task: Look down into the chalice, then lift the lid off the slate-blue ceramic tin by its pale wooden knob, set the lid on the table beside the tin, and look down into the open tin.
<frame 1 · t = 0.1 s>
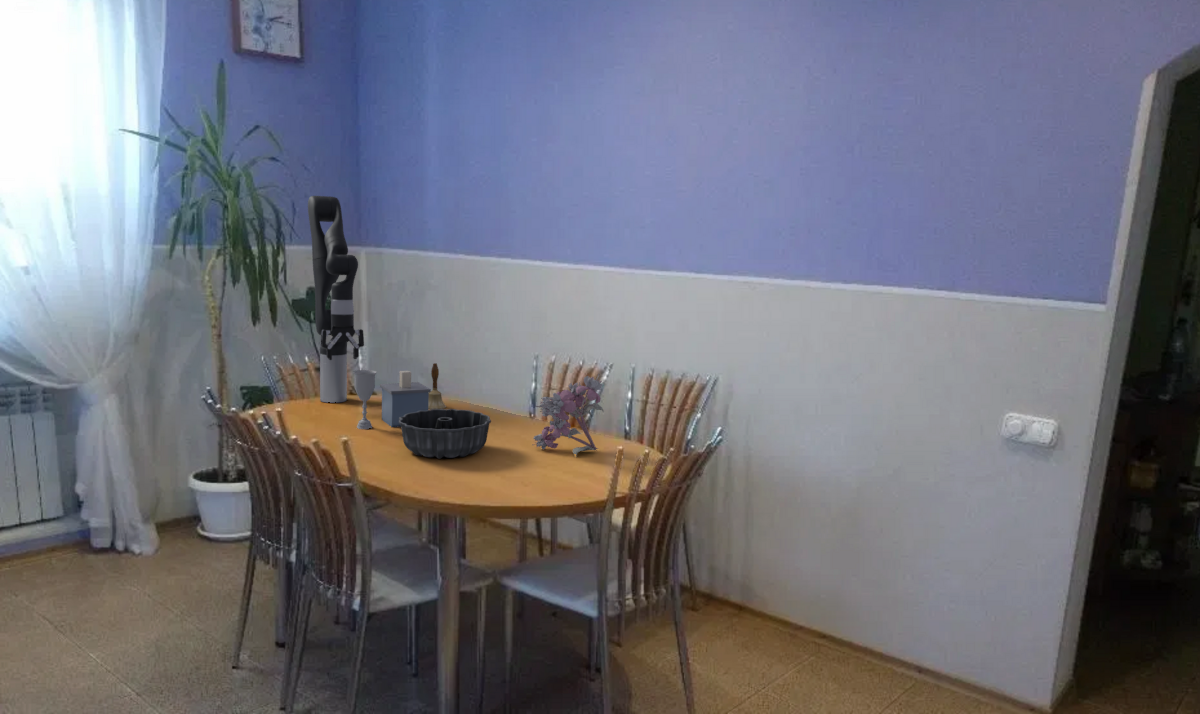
hand: (342, 359, 297), 17 cm above the table, tool pointing down, fingers open, 8 cm apart
lid: (405, 389, 281), point 11 cm above the table, touching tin
chalice: (364, 428, 273), on the table
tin: (404, 422, 283), on the table, touching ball, lid
hand bell: (434, 407, 308), on the table
flower: (560, 452, 255), on the table
bundt pan: (444, 452, 249), on the table
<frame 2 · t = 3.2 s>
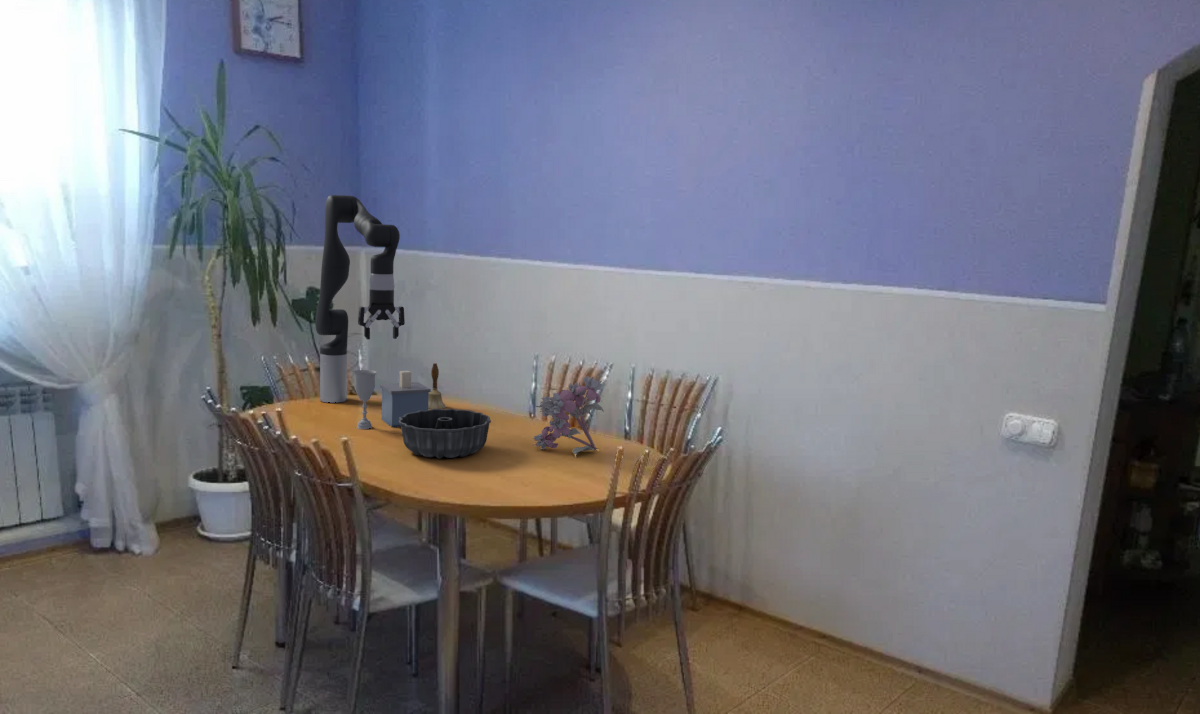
hand: (381, 338, 273), 28 cm above the table, tool pointing down, fingers open, 8 cm apart
nothing on the table moved.
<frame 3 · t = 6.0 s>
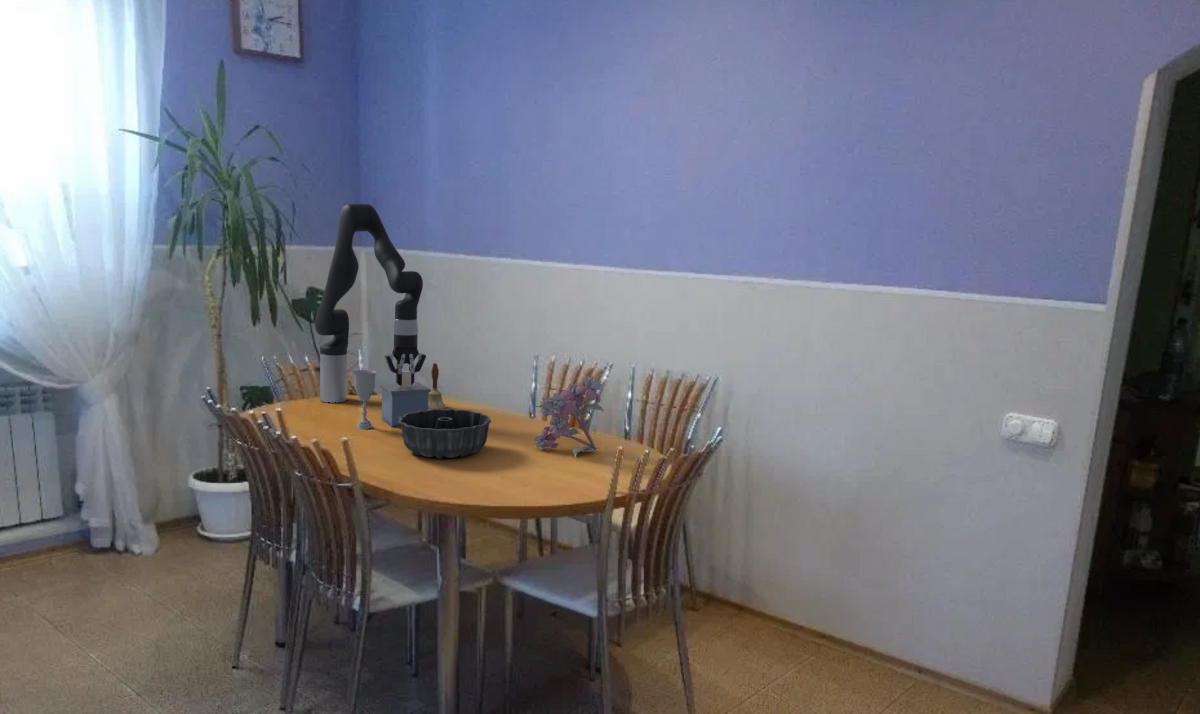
hand: (405, 384, 281), 13 cm above the table, tool pointing down, fingers closed on lid, 3 cm apart
lid: (405, 389, 281), point 11 cm above the table, touching gripper, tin
everything else where it was.
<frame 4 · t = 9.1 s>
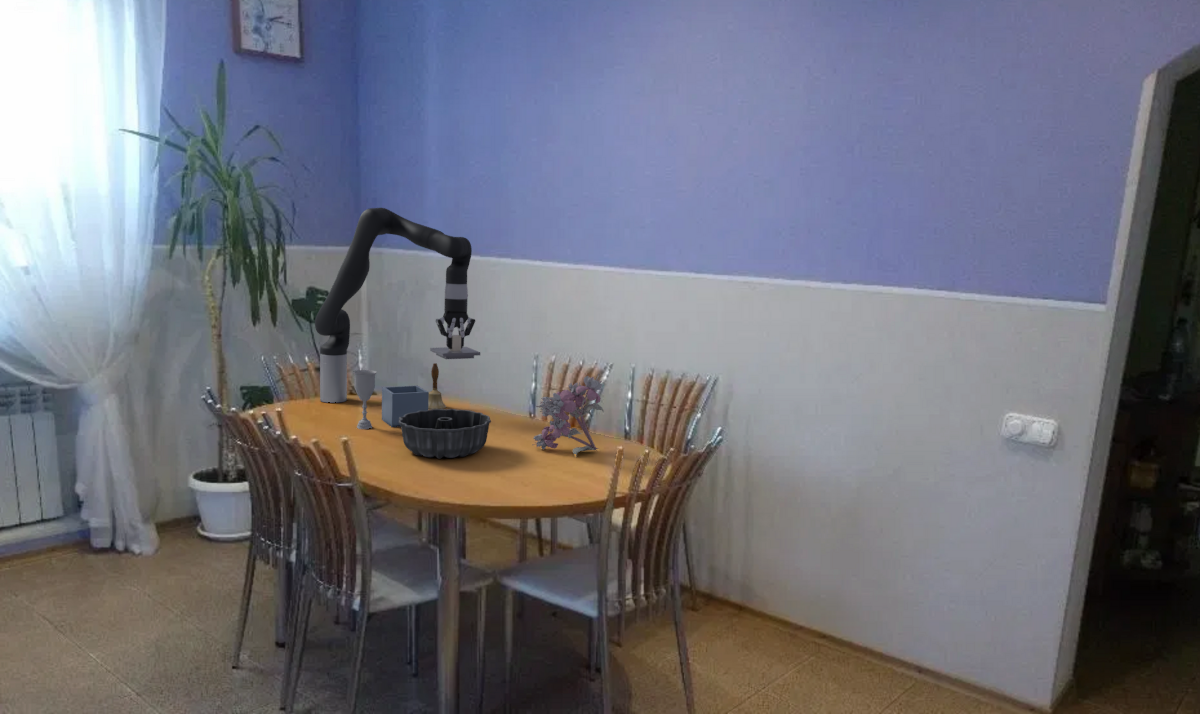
hand: (455, 348, 288), 24 cm above the table, tool pointing down, fingers closed on lid, 3 cm apart
lid: (455, 353, 288), point 23 cm above the table, touching gripper
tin: (404, 422, 283), on the table, touching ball
everything else where it was.
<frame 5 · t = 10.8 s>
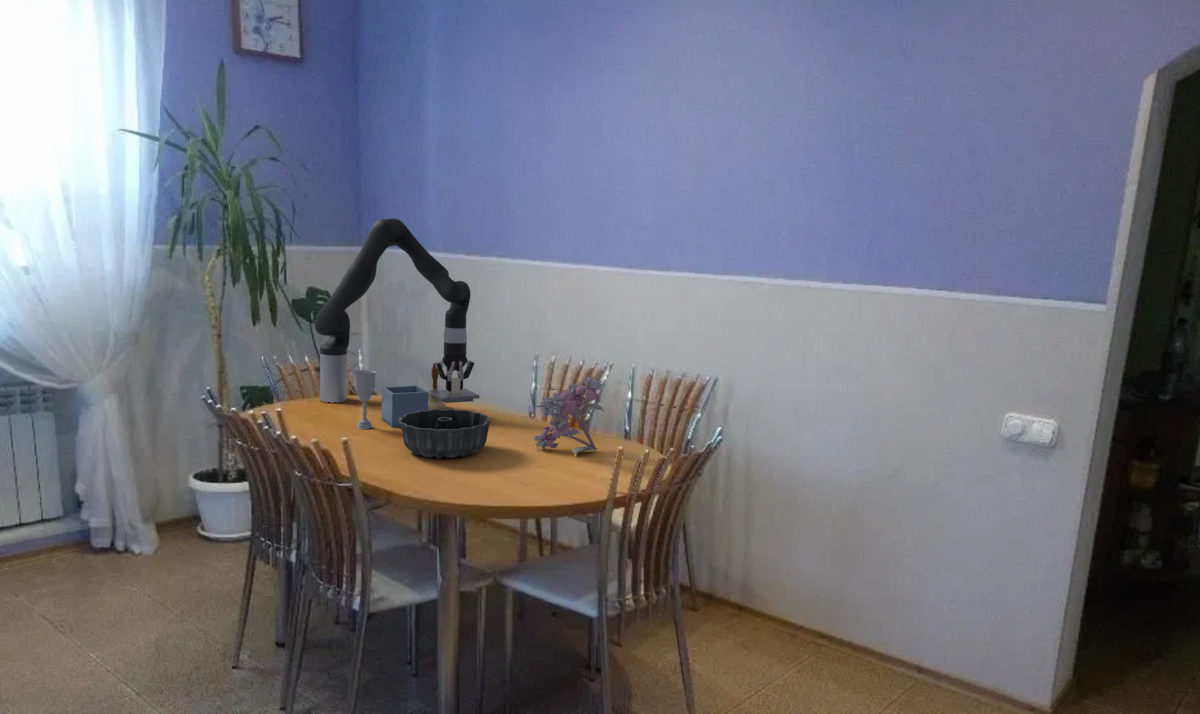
hand: (454, 390, 290), 10 cm above the table, tool pointing down, fingers closed on lid, 3 cm apart
lid: (454, 395, 290), point 8 cm above the table, touching gripper
everything else where it was.
when the fingers open (4 cm above the table, at t = 12.1 s): lid drops 2 cm, point 1 cm above the table.
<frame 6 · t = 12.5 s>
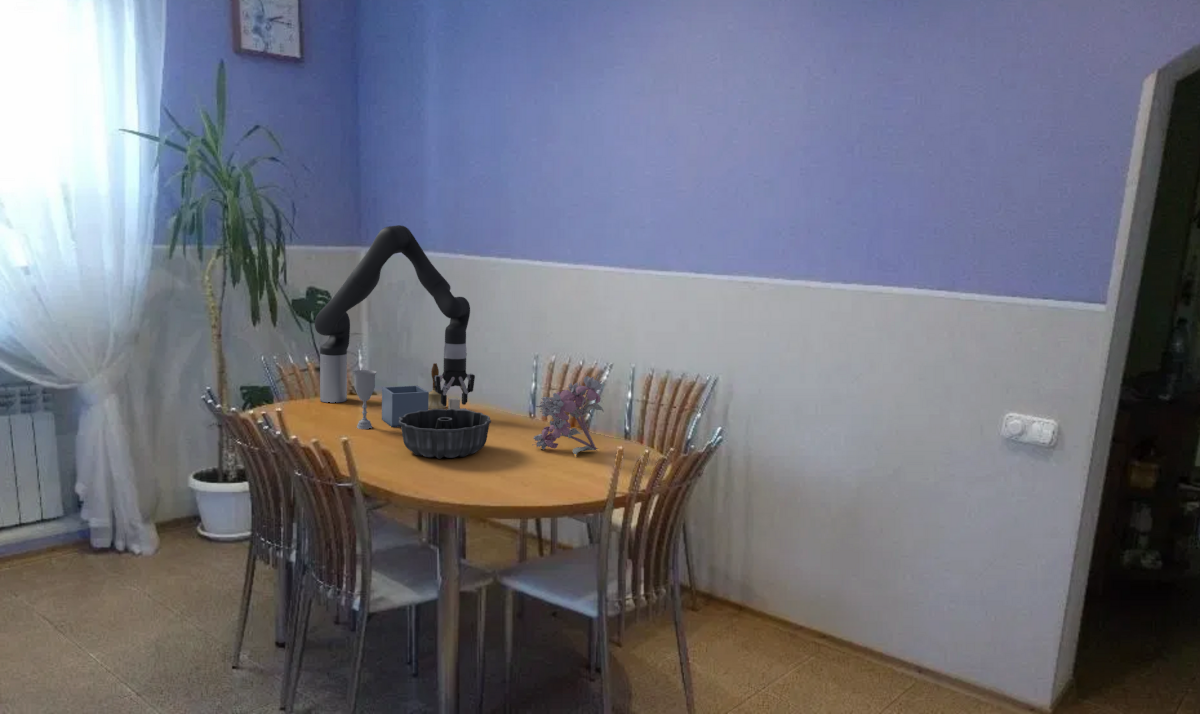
hand: (454, 404, 291), 5 cm above the table, tool pointing down, fingers open, 6 cm apart
lid: (453, 416, 291), point 1 cm above the table
everything else where it was.
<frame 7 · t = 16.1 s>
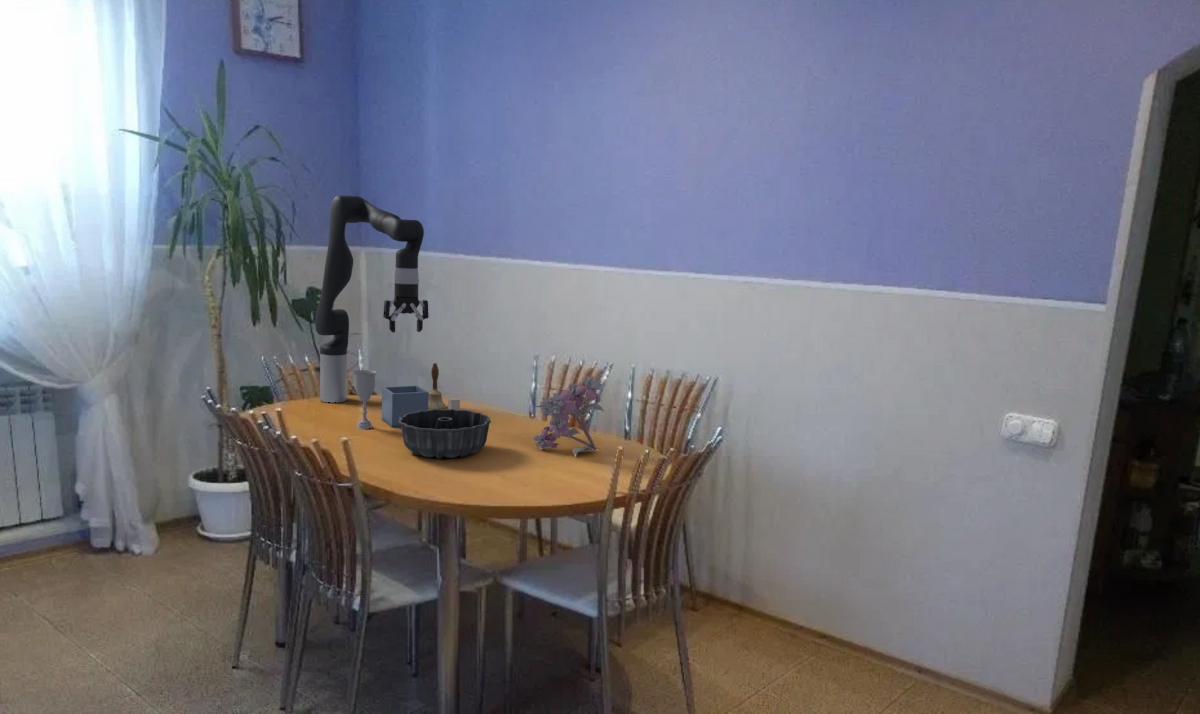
hand: (405, 331, 278), 30 cm above the table, tool pointing down, fingers open, 8 cm apart
nothing on the table moved.
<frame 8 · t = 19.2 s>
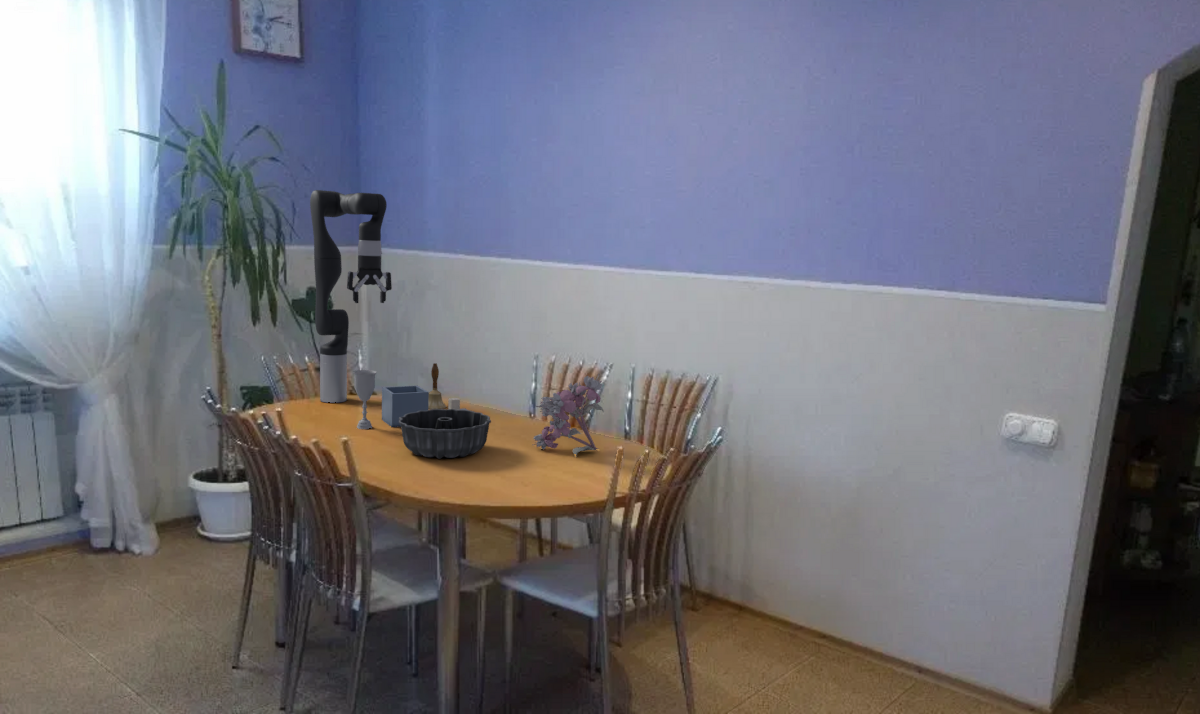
hand: (369, 303, 286), 38 cm above the table, tool pointing down, fingers open, 8 cm apart
nothing on the table moved.
at the end: lid inside the target area (0.0 cm from its centre), point 0.9 cm above the table; lid tilted 0°; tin moved 0.0 cm from its start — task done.
